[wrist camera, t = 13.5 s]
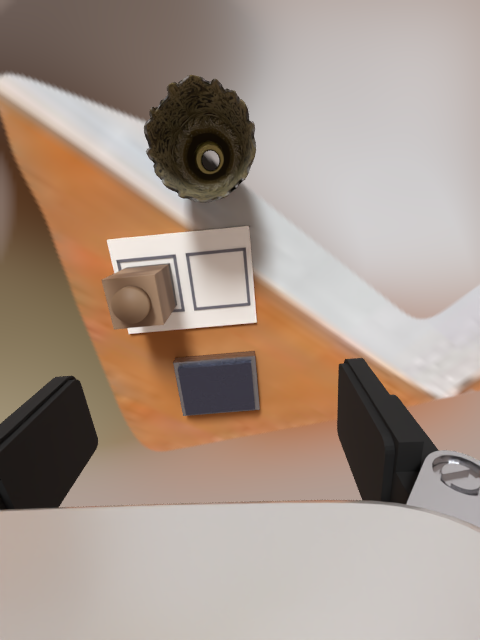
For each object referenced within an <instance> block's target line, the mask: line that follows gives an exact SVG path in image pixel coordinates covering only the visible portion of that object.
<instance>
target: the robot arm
mask: <svg viewBox="0 0 480 640" xmlns="http://www.w3.org/2000/svg"><path fill="white" fill-rule="evenodd" d="M337 429H338V436H339V439H340V442H341V444H342V447H343V450H344V452H345V455H346V458H347V460H348V463H349V466H350V468H351V471H352V474H353V476H354V479H355V482H356V484H357V487H358V490H359V492H360V495H361V497H362V501H361V500H359V501H358V500H302V501H262V502H261V501H259V502H218V503H181V504H150V505H149V504H148V505H118V506H88V507H87V506H86V507H62V508H61V507H60V508H58V507H59V506H60V504H61V503H62V501H63V500H64V498H65V496H66V495H67V493H68V492H69V490H70V489H71V487H72V486H73V484H74V483H75V481H76V479H77V478H78V476H79V475H80V473H81V472H82V470H83V469H84V467H85V466H86V464H87V462H88V461H89V459H90V458H91V456H92V455H93V453H94V452H95V450H96V448H97V445H98V437H97V434H96V431H95V428H94V425H93V421H92V418H91V415H90V412H89V409H88V405H87V402H86V399H85V396H84V392H83V389H82V386H81V383H80V381H79V380H76V379H75V377H73V376H63V377H55V378H53V379H52V380H51V381H50V382H49V383H47V384H46V385H45V386H44V387H43V388H42V389H40V390H39V391H38V392H37V393H36V394H35V395H33V396H32V397H31V398H30V399H29V400H28V401H26V402H25V403H24V404H23V405H22V406H21V407H19V408H18V409H17V410H16V411H15V412H14V413H13V414H11V415H10V416H9V417H8V418H7V419H5V420H4V421H3V422H2V423H1V424H0V640H480V461H479V460H477V459H475V458H473V457H471V456H469V455H466V454H463V453H459V452H456V451H447V450H442V451H439V450H438V449H437V448H436V446H435V445H434V444H433V442H432V441H431V440H430V438H429V437H428V436H427V435H426V433H425V432H424V431H423V429H422V428H421V427H420V425H419V424H418V423H417V422H416V420H415V419H414V418H413V416H412V415H411V414H410V412H409V411H408V410H407V409H406V407H405V406H404V405H403V403H402V402H401V401H400V399H399V398H398V397H397V396H396V395H390V394H389V393H388V392H387V390H386V389H385V388H384V386H383V385H382V384H381V382H380V381H379V379H378V378H377V377H376V375H375V374H374V373H373V371H372V370H371V369H370V367H369V366H368V364H367V363H366V362H365V360H364V359H363V358H357V359H345V361H344V363H343V364H339V379H338V420H337Z"/></svg>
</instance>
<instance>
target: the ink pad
mask: <svg viewBox="0 0 480 640" xmlns="http://www.w3.org/2000/svg"><path fill="white" fill-rule="evenodd" d="M173 364H174V369H175V375H176V380H177V385H178V390H179V396H180V401H181V406H182V412H183V416H188V415H200V414H213V413H225V412H237V411H249V410H260V407H259V396H258V384H257V372H256V361H255V351H249V352H237V353H226V354H214V355H203V356H191V357H180V358H175V360H174V362H173Z"/></svg>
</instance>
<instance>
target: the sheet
mask: <svg viewBox="0 0 480 640" xmlns="http://www.w3.org/2000/svg"><path fill="white" fill-rule="evenodd" d="M107 243H108V248H109V252H110V256H111V260H112V265H113V269H114V273H116V272H118V271H120V270H122V269H124V268H126V267H134V266H145V265H155V264H166V263H170V266H171V272H172V278H173V284H174V290H175V296H176V301H177V306H176V307H175V309H174V310H173V312H172V313H171V315H170V316H169V318H168V319H167V321H166V322H165V324H164V325H157V326H146V327H135V328H128V333H129V334H134V333H145V332H156V331H167V330H178V329H190V328H201V327H212V326H223V325H234V324H246V323H257V319H256V306H255V294H254V281H253V269H252V257H251V244H250V232H249V226H241V227H231V228H221V229H211V230H201V231H190V232H180V233H170V234H160V235H150V236H140V237H129V238H119V239H109V240H107Z"/></svg>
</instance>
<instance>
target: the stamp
mask: <svg viewBox="0 0 480 640" xmlns="http://www.w3.org/2000/svg"><path fill="white" fill-rule="evenodd" d="M102 283H103V287H104V291H105V295H106V299H107V303H108V307H109V311H110V315H111V319H112V323H113V327H114V329H124V328H135V327H146V326H157V325H164V324H165V322H166V321H167V319H168V318H169V316H170V315H171V313H172V312H173V310H174V309H175V307H176V306H177V301H176V296H175V290H174V284H173V278H172V272H171V266H170V263H166V264H155V265H145V266H134V267H126V268H124V269H122V270H120V271H118V272H116V273H114V274H112V275H110V276H108V277H106V278H104V279H102Z"/></svg>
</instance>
